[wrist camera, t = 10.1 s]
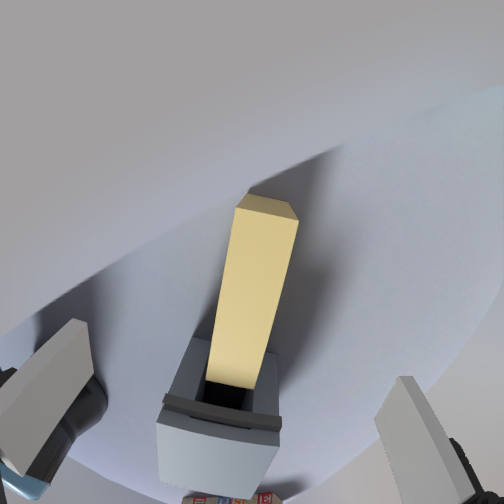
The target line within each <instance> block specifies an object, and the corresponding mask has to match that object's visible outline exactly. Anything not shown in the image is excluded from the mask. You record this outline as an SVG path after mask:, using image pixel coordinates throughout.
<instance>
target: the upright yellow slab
mask: <svg viewBox="0 0 504 504" xmlns="http://www.w3.org/2000/svg"><path fill="white" fill-rule="evenodd" d="M298 223H299V220H298V218H297V216H296V215H295V213H294V211H293V209H292V208H291V206H290V204H289V203H288V202H285V201H281V200H276V199H272V198H267V197H262V196H257V195H253V194H248V193H247V194H246V195H245V197H244V198H243V199H242V200H241V202H240V203H239V204H238V205H237V207H236V210H235V215H234V220H233V225H232V230H231V236H230V241H229V246H228V252H227V257H226V262H225V268H224V273H223V279H222V285H221V290H220V296H219V302H218V307H217V313H216V319H215V325H214V331H213V337H212V343H211V349H210V355H209V361H208V367H207V374H206V380H209V381H213V382H218V383H222V384H227V385H232V386H237V387H243V388H248V389H254V387H255V384H256V380H257V377H258V374H259V370H260V367H261V363H262V360H263V356H264V353H265V349H266V346H267V342H268V339H269V335H270V332H271V328H272V324H273V321H274V317H275V313H276V310H277V306H278V302H279V299H280V295H281V291H282V287H283V283H284V280H285V276H286V272H287V268H288V264H289V260H290V256H291V252H292V248H293V244H294V240H295V236H296V232H297V227H298Z"/></svg>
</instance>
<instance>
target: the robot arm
mask: <svg viewBox="0 0 504 504" xmlns="http://www.w3.org/2000/svg"><path fill="white" fill-rule="evenodd" d="M93 373H94V369H93V363H92V357H91V350H90V343H89V335H88V326H87V323H86V322H83V321H80V320H77V319H74V318H72V319H71V320H70V321H69V322H68V323H67V324H65V325H64V326H63V327H62V328H61V329H60V330H59V331H58V332H57V333H56V334H55V335H54V336H52V337H51V338H50V339H49V340H48V341H47V342H46V343H45V344H44V345H43V346H42V347H41V348H39V349H38V350H37V351H36V352H35V353H34V354H33V355H32V356H31V357H30V358H29V359H28V360H27V361H26V362H25V363H24V364H23V365H22V366H21V367H20V368H19V369H18V370H17V369H15V368H13V367H12V368H10V369H7V370H5V371H2V369H1V367H0V504H7V501H6V497H5V492H4V487H3V485H5V486H6V487H8V488H10V489H11V490H12V491H14V492H15V493H17V494H19V495H20V496H22V497H24V498H26V499H28V500H33V501H36V500H38V499H40V498H41V497H42V495H43V494H44V492H45V491H46V489H47V488H48V487H49V486H50V485H51V484H50V483H51V481H52V479H53V477H54V476H55V474H56V472H57V470H58V469H59V467H60V465H61V463H62V462H63V460H64V458H65V456H66V455H67V453H68V451H69V450H70V448H71V446H72V444H73V443H74V441H75V440H76V438H77V437H78V436H80V435H81V434H83V433H84V432H86V431H87V430H88V429H90V428H91V427H92V426H94V425H95V424H97V423H98V422H99V421H100V420H101V418H102V417H103V415H104V413H105V412H106V410H107V399H106V396H105V393H104V391H103V389H102V387H101V386H100V384H99V383H98V381H97V380H96V379H95V377H94V376H93ZM374 420H375V423H376V426H377V429H378V432H379V434H380V437H381V440H382V442H383V446H384V448H385V451H386V454H387V457H388V460H389V463H390V466H391V469H392V472H393V475H394V478H395V481H396V484H397V487H398V491H399V494H400V497H401V500H402V504H504V497H499V496H498V495H497V494H496V493H494V492H490V491H487V492H485V491H484V490H483V489H482V486H481V484H480V482H479V481H478V478H477V476H476V474H475V472H474V470H473V468H472V466H471V464H469V461H468V459H467V457H465V453H464V451H463V449H462V448H461V446H460V445H459V444H458V443H457V442H456V441H455V440H454V439H453V438H448V437H447V435H446V433H445V431H444V429H443V427H442V426H441V424H440V422H439V420H438V419H437V417H436V415H435V413H434V411H433V410H432V408H431V406H430V404H429V403H428V401H427V399H426V398H425V396H424V394H423V392H422V391H421V389H420V387H419V386H418V384H417V382H416V381H415V379H414V377H413V376H399V377H398V379H397V380H396V382H395V384H394V386H393V388H392V390H391V391H390V393H389V395H388V397H387V398H386V400H385V402H384V403H383V405H382V407H381V408H380V410H379V412H378V413H377V415H376V417H375V418H374Z"/></svg>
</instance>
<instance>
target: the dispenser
mask: <svg viewBox="0 0 504 504" xmlns="http://www.w3.org/2000/svg"><path fill="white" fill-rule="evenodd" d="M211 343H212V341H209V340H204V339H200V338H196V337H192V338H191V340H190V342H189V345H188V347H187V349H186V352H185V354H184V357H183V359H182V361H181V364H180V366H179V368H178V371H177V373H176V376H175V378H174V380H173V383H172V385H171V388H170V390H169V392H168V394H167V393H166V394H165V397H164V399H163V401H162V409H161V412H160V414H159V417H158V419H157V422H156V432H157V455H158V471H159V482H162V483H166V484H169V485H173V486H177V487H181V488H185V489H189V490H194V491H198V492H203V493H208V494H213V495H219V496H225V497H232V498H239V499H247V500H250V499H251V498H252V496H253V494H254V493H255V491H256V489H257V488H258V486H259V484H260V482H261V481H262V479H263V477H264V475H265V473H266V472H267V470H268V468H269V466H270V464H271V463H272V461H273V459H274V457H275V455H276V453H277V451H278V449H279V447H280V438H279V432H280V430H281V427H282V417H281V416H279V393H278V360H277V354H273V353H268V352H265V353H264V356H263V360H262V363H261V367H260V370H259V374H258V377H257V380H256V384H255V387H254V389H248V388H246V392H245V396H244V399H243V403H242V406H241V410H236V409H231V408H225V407H220V406H216V405H211V404H207V403H202V402H203V396H204V389H205V383H206V374H207V367H208V361H209V355H210V349H211Z"/></svg>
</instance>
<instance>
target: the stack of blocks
mask: <svg viewBox="0 0 504 504" xmlns="http://www.w3.org/2000/svg"><path fill="white" fill-rule="evenodd" d="M182 504H283V502H282V501H281V500H280V499H279V498H278V497H277V496H276V495H275V494H274V493H273V492H270V493H263V494H253V496H252V498H251V499H250V500H247V499H239V498H232V497H214V498H183V500H182Z"/></svg>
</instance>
